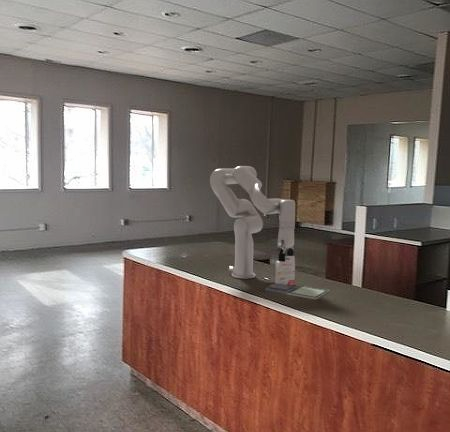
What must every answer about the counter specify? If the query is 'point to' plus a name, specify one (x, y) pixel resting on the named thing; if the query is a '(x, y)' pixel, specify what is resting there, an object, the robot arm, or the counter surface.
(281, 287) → the ink pad
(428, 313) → the counter surface
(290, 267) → the ink cartridge box
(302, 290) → the marked card
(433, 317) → the counter surface
